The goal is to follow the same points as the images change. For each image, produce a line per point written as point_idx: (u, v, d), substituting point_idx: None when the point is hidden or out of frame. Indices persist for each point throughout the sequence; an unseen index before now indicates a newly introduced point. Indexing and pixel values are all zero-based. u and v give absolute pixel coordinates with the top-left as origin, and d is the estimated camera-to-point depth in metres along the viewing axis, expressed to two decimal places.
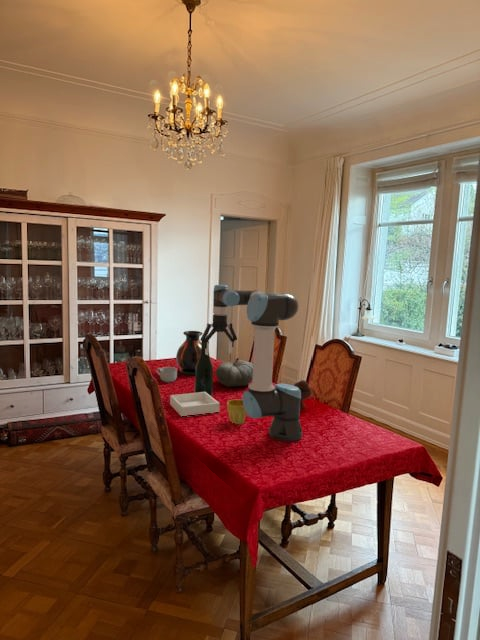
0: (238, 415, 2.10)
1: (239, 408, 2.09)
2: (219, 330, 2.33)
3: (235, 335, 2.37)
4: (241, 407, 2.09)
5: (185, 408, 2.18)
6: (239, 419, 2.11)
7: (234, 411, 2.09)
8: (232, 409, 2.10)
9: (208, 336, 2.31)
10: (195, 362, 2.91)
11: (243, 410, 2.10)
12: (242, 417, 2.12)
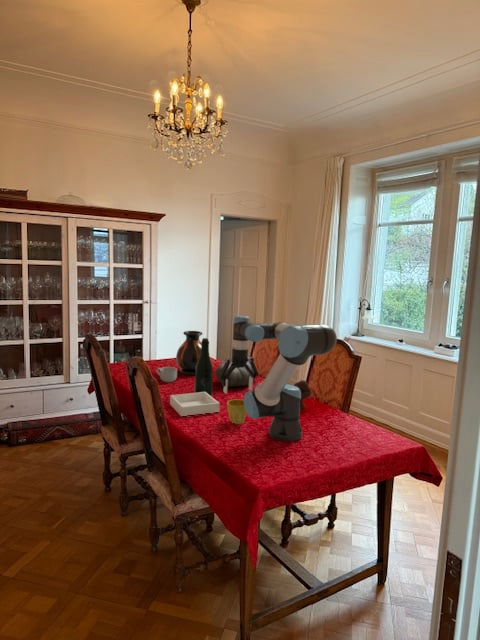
0: (238, 415, 2.10)
1: (239, 408, 2.09)
2: (239, 366, 2.10)
3: (256, 370, 2.15)
4: (241, 407, 2.09)
5: (185, 408, 2.18)
6: (239, 419, 2.11)
7: (234, 411, 2.09)
8: (232, 409, 2.10)
9: (227, 373, 2.08)
10: (195, 362, 2.91)
11: (243, 410, 2.10)
12: (242, 417, 2.12)
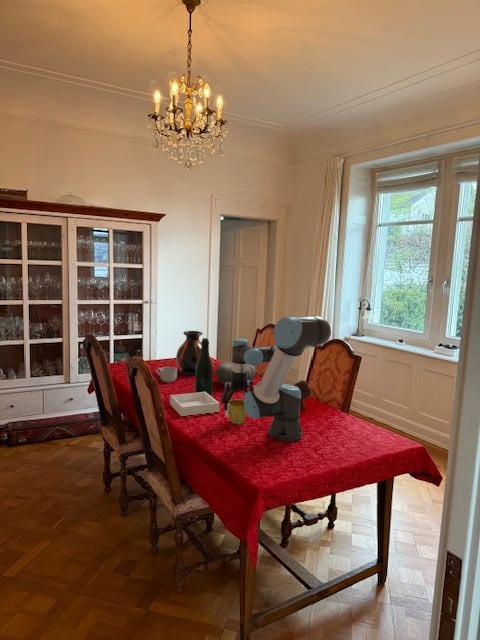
0: (238, 415, 2.10)
1: (239, 408, 2.09)
2: (238, 388, 2.12)
3: None
4: (241, 407, 2.09)
5: (185, 408, 2.18)
6: (239, 419, 2.11)
7: (234, 411, 2.09)
8: (232, 408, 2.10)
9: (228, 397, 2.10)
10: (195, 362, 2.91)
11: (243, 410, 2.10)
12: (242, 417, 2.12)
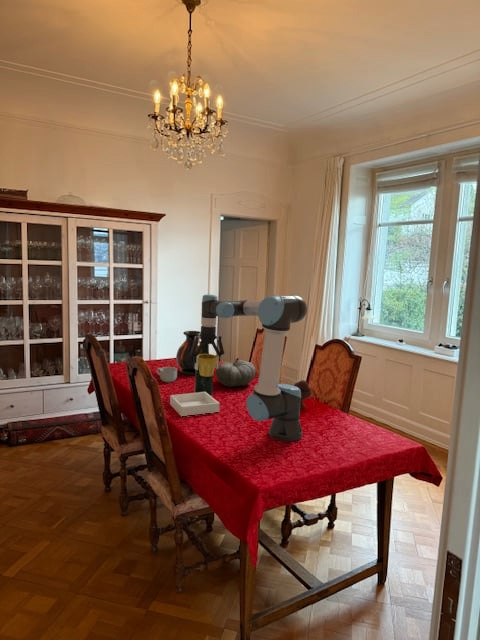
0: (207, 367, 2.20)
1: (207, 360, 2.18)
2: (207, 342, 2.21)
3: (222, 349, 2.25)
4: (209, 360, 2.19)
5: (185, 408, 2.18)
6: (208, 371, 2.21)
7: (203, 363, 2.19)
8: (201, 361, 2.19)
9: (197, 350, 2.20)
10: None
11: (211, 363, 2.19)
12: (211, 370, 2.21)
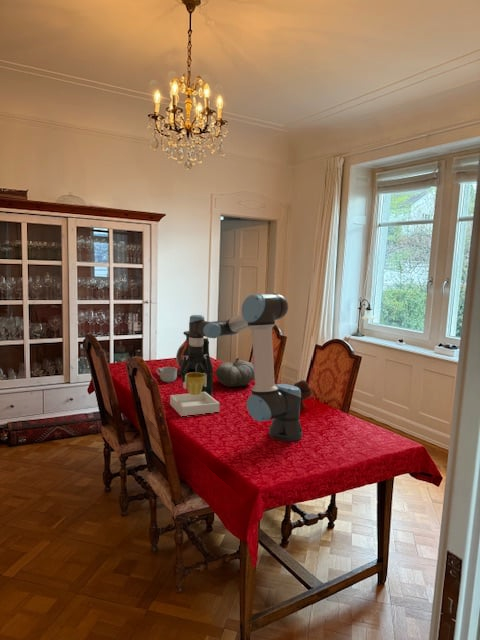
0: (195, 386, 2.26)
1: (195, 379, 2.24)
2: (195, 361, 2.27)
3: (210, 368, 2.31)
4: (197, 378, 2.24)
5: (185, 408, 2.18)
6: (196, 390, 2.27)
7: (191, 382, 2.25)
8: (189, 380, 2.25)
9: (185, 369, 2.26)
10: None
11: (199, 381, 2.25)
12: (199, 388, 2.27)
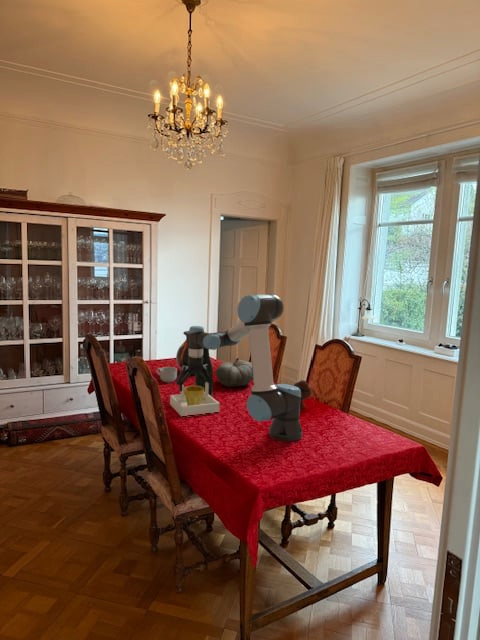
0: (194, 399, 2.26)
1: (194, 393, 2.25)
2: (195, 372, 2.28)
3: (211, 376, 2.32)
4: (196, 392, 2.25)
5: (185, 408, 2.18)
6: (195, 403, 2.27)
7: (190, 396, 2.25)
8: (188, 393, 2.26)
9: (183, 379, 2.26)
10: None
11: (198, 395, 2.26)
12: (198, 402, 2.28)
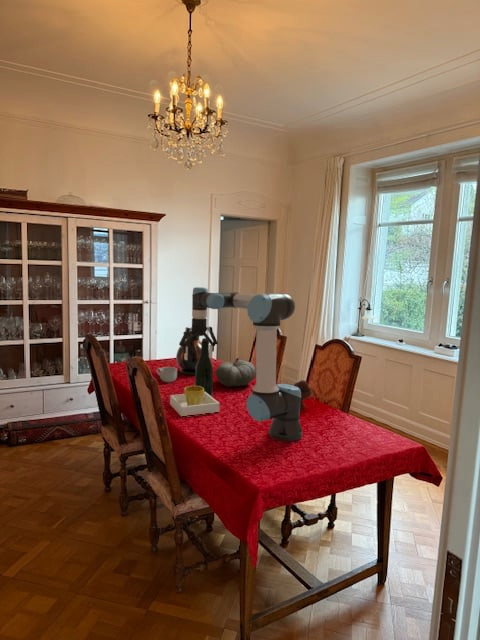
0: (194, 400, 2.26)
1: (194, 393, 2.25)
2: (198, 334, 2.25)
3: (215, 339, 2.29)
4: (196, 392, 2.25)
5: (185, 408, 2.18)
6: (195, 404, 2.27)
7: (190, 396, 2.25)
8: (188, 394, 2.26)
9: (187, 340, 2.23)
10: (195, 362, 2.91)
11: (198, 395, 2.26)
12: (197, 402, 2.28)
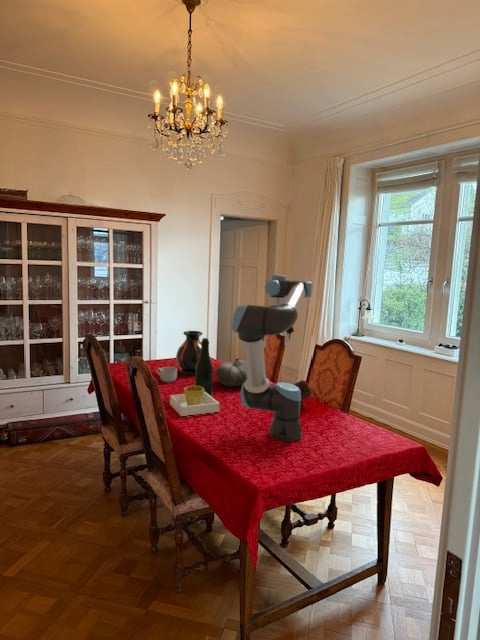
0: (194, 400, 2.26)
1: (194, 393, 2.25)
2: None
3: (292, 327, 2.29)
4: (196, 392, 2.25)
5: (185, 408, 2.18)
6: (195, 404, 2.27)
7: (190, 396, 2.25)
8: (188, 394, 2.26)
9: None
10: (195, 362, 2.91)
11: (198, 395, 2.26)
12: (197, 402, 2.28)
